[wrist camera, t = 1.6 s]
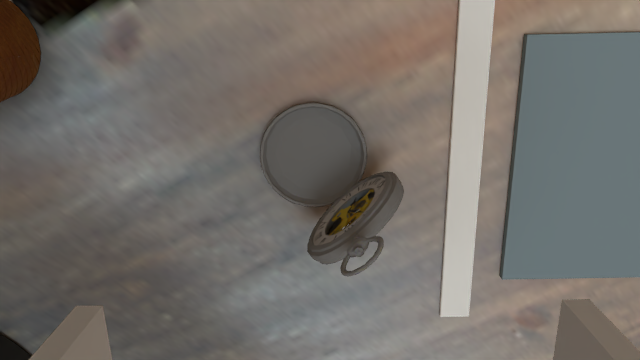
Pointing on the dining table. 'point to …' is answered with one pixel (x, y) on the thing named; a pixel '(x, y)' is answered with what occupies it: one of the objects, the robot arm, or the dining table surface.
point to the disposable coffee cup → (16, 51)
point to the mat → (575, 159)
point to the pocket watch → (329, 180)
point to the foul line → (465, 153)
